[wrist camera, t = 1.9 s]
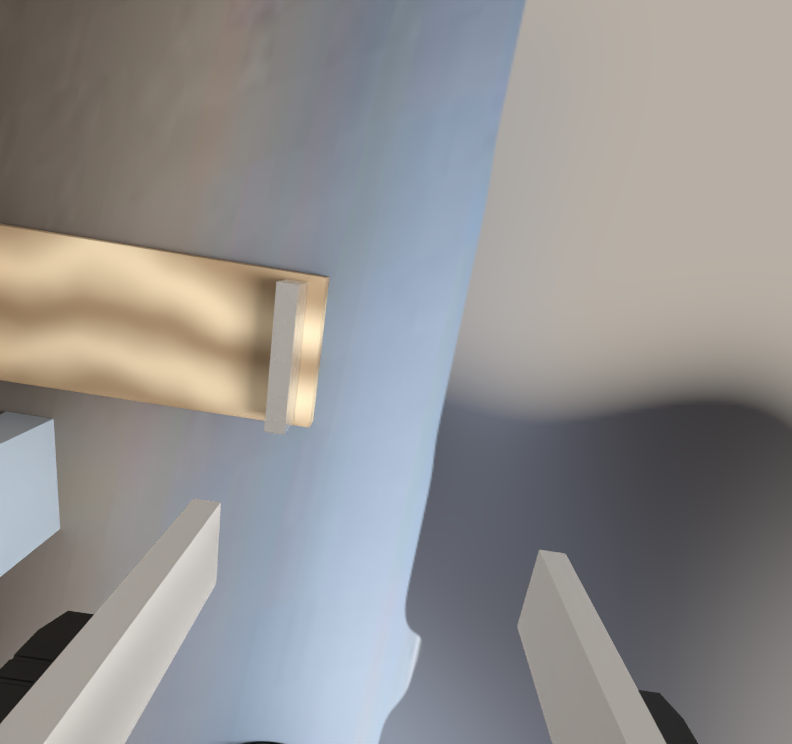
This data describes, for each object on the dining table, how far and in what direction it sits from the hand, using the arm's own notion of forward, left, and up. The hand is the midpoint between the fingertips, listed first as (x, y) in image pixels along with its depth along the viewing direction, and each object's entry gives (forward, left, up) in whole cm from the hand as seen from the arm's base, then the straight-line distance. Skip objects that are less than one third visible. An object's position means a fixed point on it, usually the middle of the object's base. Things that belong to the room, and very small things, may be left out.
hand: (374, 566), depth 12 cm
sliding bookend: (0, +8, -22) cm, 23 cm away
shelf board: (0, +20, -23) cm, 31 cm away
